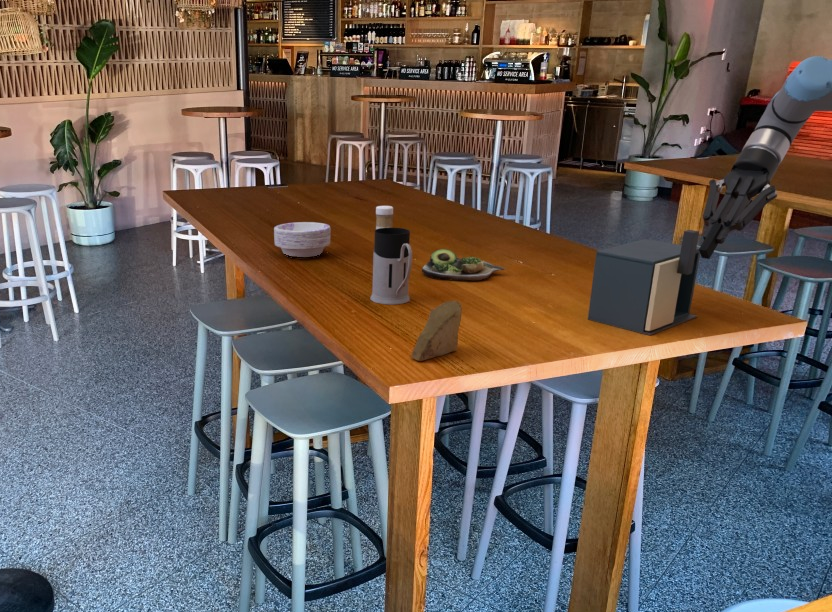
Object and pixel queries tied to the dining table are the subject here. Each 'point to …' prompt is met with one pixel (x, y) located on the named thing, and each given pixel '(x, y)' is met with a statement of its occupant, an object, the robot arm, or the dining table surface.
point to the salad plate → (457, 267)
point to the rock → (439, 332)
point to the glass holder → (391, 266)
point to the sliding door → (670, 283)
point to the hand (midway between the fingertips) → (704, 254)
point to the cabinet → (636, 285)
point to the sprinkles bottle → (384, 217)
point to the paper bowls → (302, 238)
